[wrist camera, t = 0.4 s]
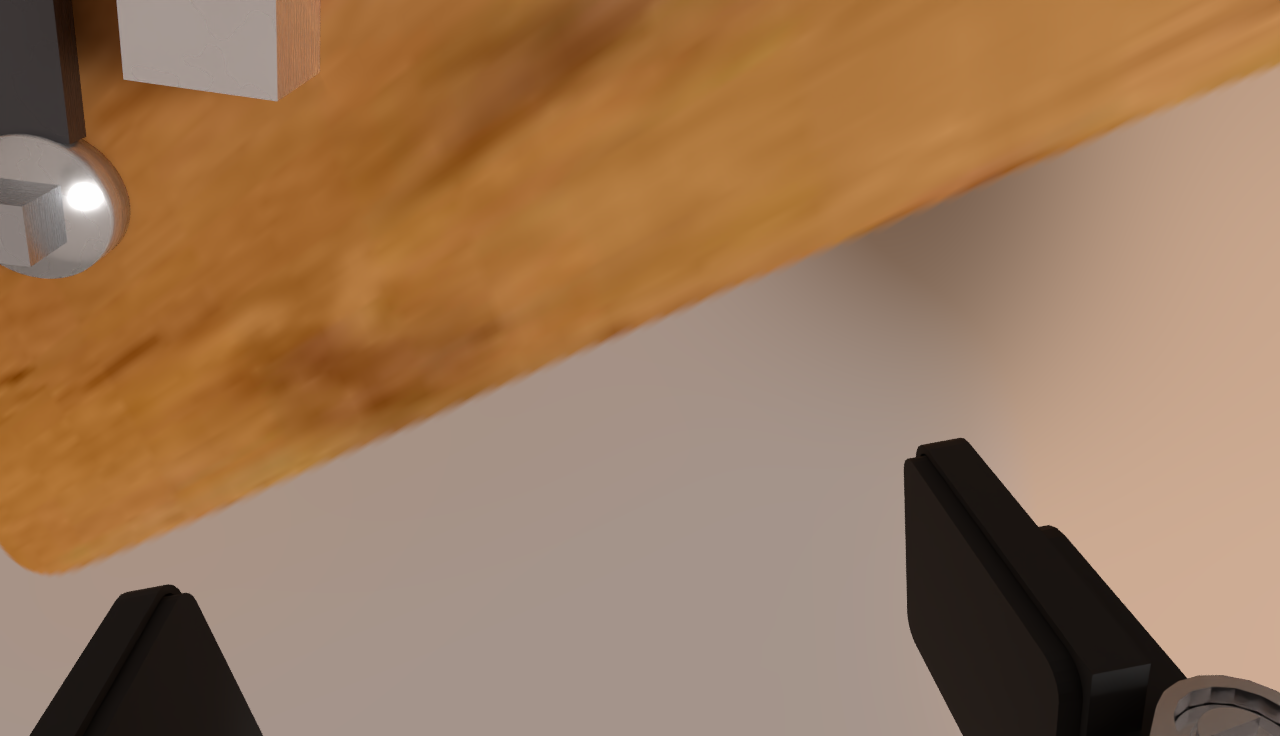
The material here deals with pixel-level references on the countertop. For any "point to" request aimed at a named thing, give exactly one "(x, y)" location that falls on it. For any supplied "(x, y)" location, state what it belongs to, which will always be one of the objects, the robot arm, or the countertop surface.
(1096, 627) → the robot arm
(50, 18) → the ratchet
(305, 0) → the white block
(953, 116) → the countertop surface
